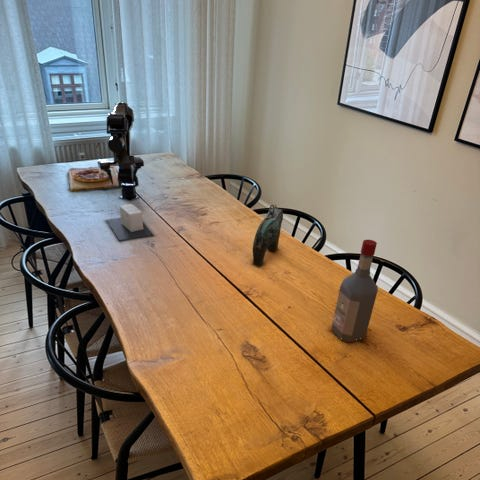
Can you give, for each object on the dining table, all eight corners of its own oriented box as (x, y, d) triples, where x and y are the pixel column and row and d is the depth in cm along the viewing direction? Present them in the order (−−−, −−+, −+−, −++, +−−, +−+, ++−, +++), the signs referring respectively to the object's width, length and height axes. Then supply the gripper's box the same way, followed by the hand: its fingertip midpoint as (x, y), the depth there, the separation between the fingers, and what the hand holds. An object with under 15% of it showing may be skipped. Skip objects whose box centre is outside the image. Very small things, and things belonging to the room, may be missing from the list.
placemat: (106, 220, 195) (106, 219, 195) (138, 216, 201) (137, 215, 201) (119, 241, 180) (119, 240, 179) (153, 236, 185) (153, 235, 185)
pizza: (64, 171, 247) (62, 164, 245) (116, 168, 256) (115, 161, 254) (69, 193, 221) (68, 185, 219) (127, 188, 230) (126, 181, 228)
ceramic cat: (269, 244, 184) (273, 197, 173) (283, 248, 182) (289, 200, 171) (248, 264, 169) (251, 213, 158) (264, 268, 167) (268, 217, 156)
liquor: (344, 344, 131) (366, 252, 114) (327, 327, 138) (345, 237, 121) (369, 338, 134) (394, 247, 117) (352, 322, 141) (373, 233, 124)
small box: (133, 221, 196) (143, 230, 189) (120, 223, 193) (131, 232, 186) (131, 203, 191) (142, 211, 184) (119, 205, 188) (129, 214, 181)
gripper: (101, 153, 180) (105, 191, 189) (146, 149, 187) (148, 186, 196) (95, 145, 188) (99, 182, 197) (138, 143, 195) (141, 178, 204)
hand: (122, 183), depth 198 cm, fingers open, 9 cm apart
